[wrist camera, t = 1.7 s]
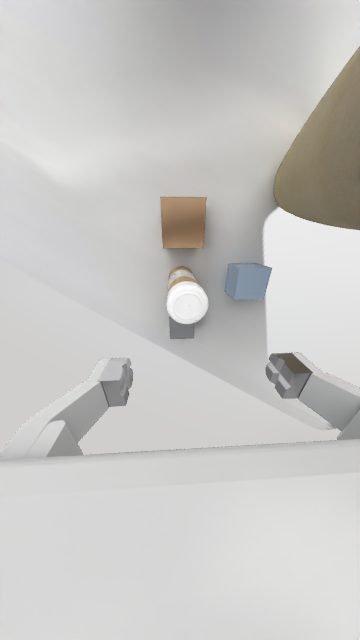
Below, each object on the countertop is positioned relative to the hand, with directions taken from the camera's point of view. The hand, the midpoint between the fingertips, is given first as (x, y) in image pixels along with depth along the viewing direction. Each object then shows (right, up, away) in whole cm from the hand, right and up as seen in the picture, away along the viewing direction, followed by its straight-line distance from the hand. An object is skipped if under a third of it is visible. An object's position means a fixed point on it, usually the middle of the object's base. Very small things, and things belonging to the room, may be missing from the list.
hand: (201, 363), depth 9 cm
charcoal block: (-1, +3, +23) cm, 23 cm away
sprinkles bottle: (-1, +10, +19) cm, 22 cm away
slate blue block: (+10, +10, +20) cm, 24 cm away
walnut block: (-1, +17, +15) cm, 23 cm away
